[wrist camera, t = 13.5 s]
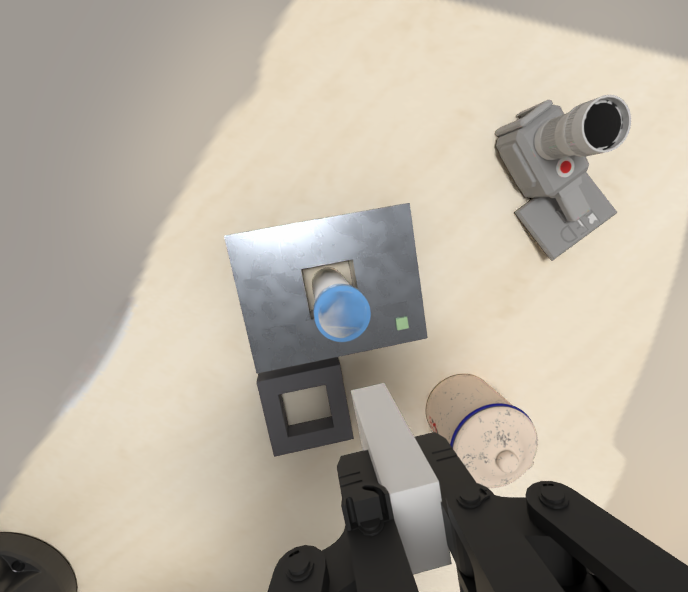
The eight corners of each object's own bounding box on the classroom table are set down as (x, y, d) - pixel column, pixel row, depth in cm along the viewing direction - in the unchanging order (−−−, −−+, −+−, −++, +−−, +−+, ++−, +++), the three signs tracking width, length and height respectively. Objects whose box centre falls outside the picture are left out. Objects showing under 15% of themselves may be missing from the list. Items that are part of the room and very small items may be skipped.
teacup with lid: (408, 417, 47) (444, 480, 35) (454, 357, 46) (505, 402, 34) (481, 463, 49) (536, 536, 38) (526, 407, 48) (596, 464, 37)
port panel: (260, 359, 43) (256, 374, 39) (231, 234, 40) (223, 236, 36) (416, 327, 45) (428, 338, 40) (399, 204, 42) (410, 202, 37)
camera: (634, 52, 30) (705, 213, 33) (540, 97, 41) (600, 213, 45) (542, 120, 30) (622, 273, 34) (474, 146, 41) (539, 258, 45)
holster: (275, 443, 45) (274, 456, 43) (258, 373, 43) (256, 382, 41) (350, 427, 46) (353, 438, 44) (337, 356, 44) (339, 364, 42)
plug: (313, 305, 43) (320, 346, 29) (305, 268, 42) (309, 293, 28) (350, 298, 43) (374, 335, 29) (343, 261, 42) (365, 281, 28)
